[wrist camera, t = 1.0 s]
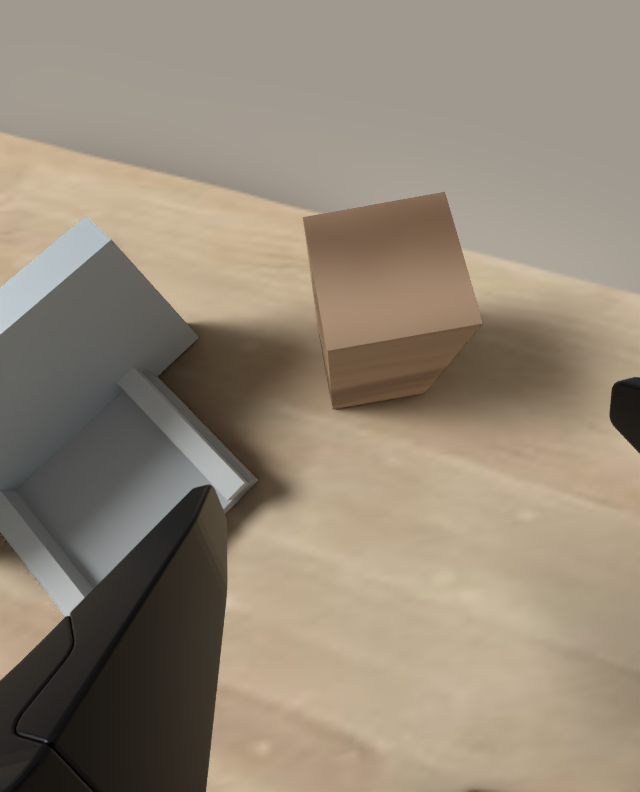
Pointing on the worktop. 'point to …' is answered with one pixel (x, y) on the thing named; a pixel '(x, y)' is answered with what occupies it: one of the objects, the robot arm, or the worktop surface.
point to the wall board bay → (94, 415)
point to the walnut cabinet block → (389, 297)
